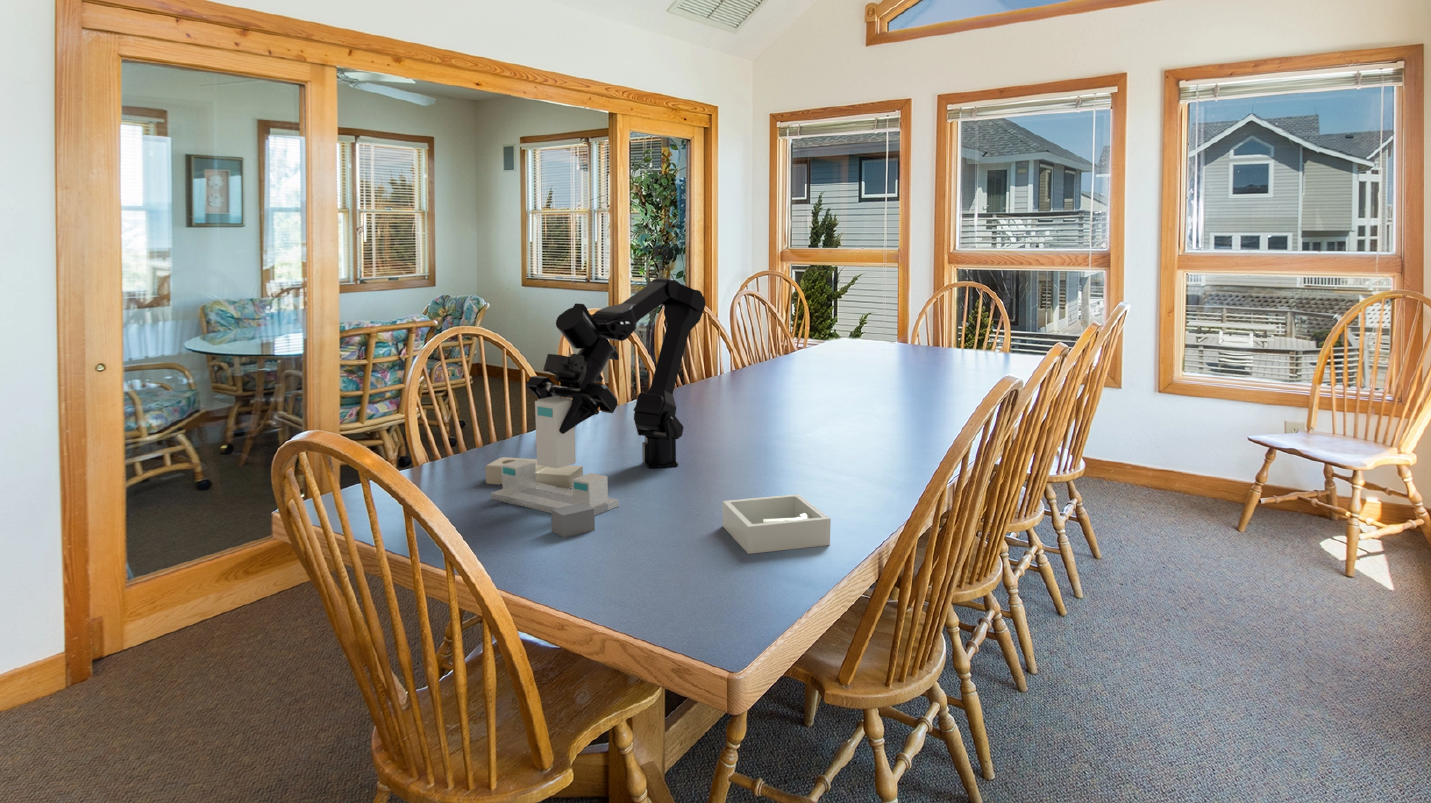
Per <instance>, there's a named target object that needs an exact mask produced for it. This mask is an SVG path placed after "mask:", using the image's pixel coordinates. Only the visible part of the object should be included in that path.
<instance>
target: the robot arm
mask: <svg viewBox="0 0 1431 803" xmlns="http://www.w3.org/2000/svg"><path fill="white" fill-rule="evenodd" d="M659 306H663V307H664V309H663V315H664V317H665V322H666V329H665V333H664V336H663V341H662V344H661V346H660V352H659V354H658V359H657V362H656V366H655V369H654V373H653V377H652V381H651V384H650V387H649V389H647V391H645V392H639V394H638V395H637V397H636V404H635V406H634V408H633V411H634V413H633V420H634V424H635V426H636V432H637V435H638V436H640V437H641V436H643V437H644V441H643V442H642V443H641V446H642V447H641V448H642V449H641V450H642V451H641V453H642V456H641V457H642V461H643V463H644V464H645V465H646V466H647V467H648V468H649V469H654V468H666V467H677V466H679V462H678V461H677V440H679V439H680V438H681V437H683V432H684V425H683V424H682V423H681V422H680V420H679V419H678V418H677V416H676V412H677V405H676V401H675V399H674V391H675V390H674V389H675V386H676V383H677V378H678V376H679V372H680V368H681V364H682V360H683V357H684V353H685V349H686V345H687V341H688V338H689V333H690V332H691V331H692V329H694V328H695V327H696V325H698V323H700V321H701V318H702V316H703V313H704V311H705V307H706V299H705V296H704V295H703V293H702V292H701V290H698V289H694V288H691V287H689V286H687V285H684V284H681V283H679V282H678V281H677V280H675V279H673V278H665V277H664V278H661V277H657V278H654V279H652V280H651V281H650V283H649V284H647V285H646V286H645V287H643V288H642V289H640V290H638V292H636V293H634V294H633V295H632V296H630V297H629V298H627V299H626V300H625V301H623V302H621V303H619V304H616V305H610V306H606V307H603V308H600V309H598V310H596V311H595V312H594V313H593V315H591V313H590V311H589V310H588V308H587V306H586V305H585V304H583V303H574V305H573V306H572V307H570V308H568V309H565V311H563V312H562V313H561V314H559V315H558V316H557V318H556V321H555V327H556V329H558V331H559V333H561V334H562V335H563V337H564V338H565V339H566V341H567V342H568V343H569V344H570V346H571V347H573V348H574V349H577V350H578V349H579V350H578V352H577V353H572V354H571V355H570V356H566V355H562V354H555V353H548V354H547V356H546V359H545V363H544V366H543V371H544V372H545V373H546V372H547V373H548V372H549V373H551V374H553V375H555V376H554V379H555V380H556V382H558V383H560V384H559V385H557V384H555V383H554V382H553V381H552V380H551V378H549V377H547V376H540V375H534V376H530V378H529V379H528V381H527V382H526V383H525V386H526V388H527V389H528V390H529V391H530V392H531V393H532V394H533V396H535V398H536V400H539V399H543V398H548V397H553V396H556V397H563V398H570V399H572V405H571V407H570V409H569V411H568V413H567V415H566V417H565V419H564V420H563V422H562V425H561V427H560V429H559V431H560V432H561V434H564V433H566V432H567V431H569V430H570V429H572V428H573V427H575V428H576V426H577V425H580V424H581V423H582V422H584V421H586V420H587V419H590V418H591V417H593V416H594V415H599V414H600V412H602V413H605V414H606V413H608V414H613V413H614V412H615V410H616V409H617V407H618V398H617V397H616V396H615V394H614V393H613V391H611V389H610V388H609V387H608V386H607V384H604V383H602V381H603V379H604V377H603V376H602V375H601V374H602V373H603V370H604V369H605V367H606V365H607V363H608V361H609V360H613V361H618V360H619V359H620V357H619V353H618V349H617V346H616V345H613V344H612V343H611V342H610V341H618V342H622V341H623V342H624V341H626V340H627V339H628V338H629V337H630V336H631V335H632V334H633V333H634V332H635V331H636V330H637V323H638V322H639V321H640V320H641V319H643V318H644V317H646V316H647V315H649V314H650V313H651V312H653V311H654V310H655V309H656V308H658V307H659ZM599 409H600V411H599Z"/></svg>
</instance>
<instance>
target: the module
mask: <svg viewBox="0 0 1431 803" xmlns="http://www.w3.org/2000/svg"><path fill="white" fill-rule="evenodd" d="M571 405H572V398H565V397H556V396H553V397H548V398H543V399H539V400H538V399H536V400H535V401H534V410H535V412H534V414H535V440H536V441H535V442H536V445H535V446H536V459H537V465H541V466H546V467H551V468H556V469H557V468H561V467H564V466H567V465H574V464H576V458H577V457H576V435H575V434H576V429H575V428H576V426H575V427H573V428H572V429H570V430H569V431H567V432H566V433H564V434H561V432H560V431H559V429H560V427H561V425H562V422H563V420H564V419H565V417H566V415H567V413H568V411H569V409H570V407H571Z"/></svg>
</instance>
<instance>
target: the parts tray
mask: <svg viewBox="0 0 1431 803" xmlns="http://www.w3.org/2000/svg"><path fill="white" fill-rule="evenodd" d="M804 513H806V514H807V515H808V516H810V517H811V518H810V519H800V520H790V521H780V522H770V523H763V519H777V518H795V517H797V516H799V515H801V514H804ZM831 519H832V518H831V517H829V516H828V515H827V514H825V513H824V512H822V510H820V509H819V508H818V507H816V506H815V505H813V504H812V503H811V502H809V500H807V499H805V497H803V496H802V495H800V494H798V493H797V494H785V495H775V496H773V495H772V496H766V497H765V496H763V497H751V498H742V499H741V498H740V499H739V498H738V499H728V500H722V527H723V528H724V529H725V531H726V532H728V534H729V535H730V536H731V537H732V538H733V539H734V540H735V542H737V543H738V544H739V546H740V547H741V548H742V549H743V550H744V551H745V552H746V553H747V554H748V555H750V554H758V553H759V554H760V553H767V552H777V551H778V552H779V551H789V550H797V549H806V548H815V547H823V546H830V545H831V523H832V522H831Z"/></svg>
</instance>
